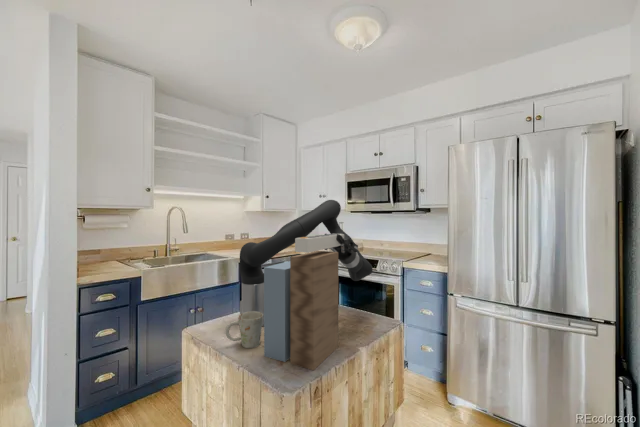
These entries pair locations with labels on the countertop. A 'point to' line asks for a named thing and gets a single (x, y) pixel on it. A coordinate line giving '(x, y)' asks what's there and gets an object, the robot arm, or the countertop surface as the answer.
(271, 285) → the blue stand
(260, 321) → the mug
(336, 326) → the walnut stand
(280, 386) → the countertop surface
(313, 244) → the light grey square-ended block
